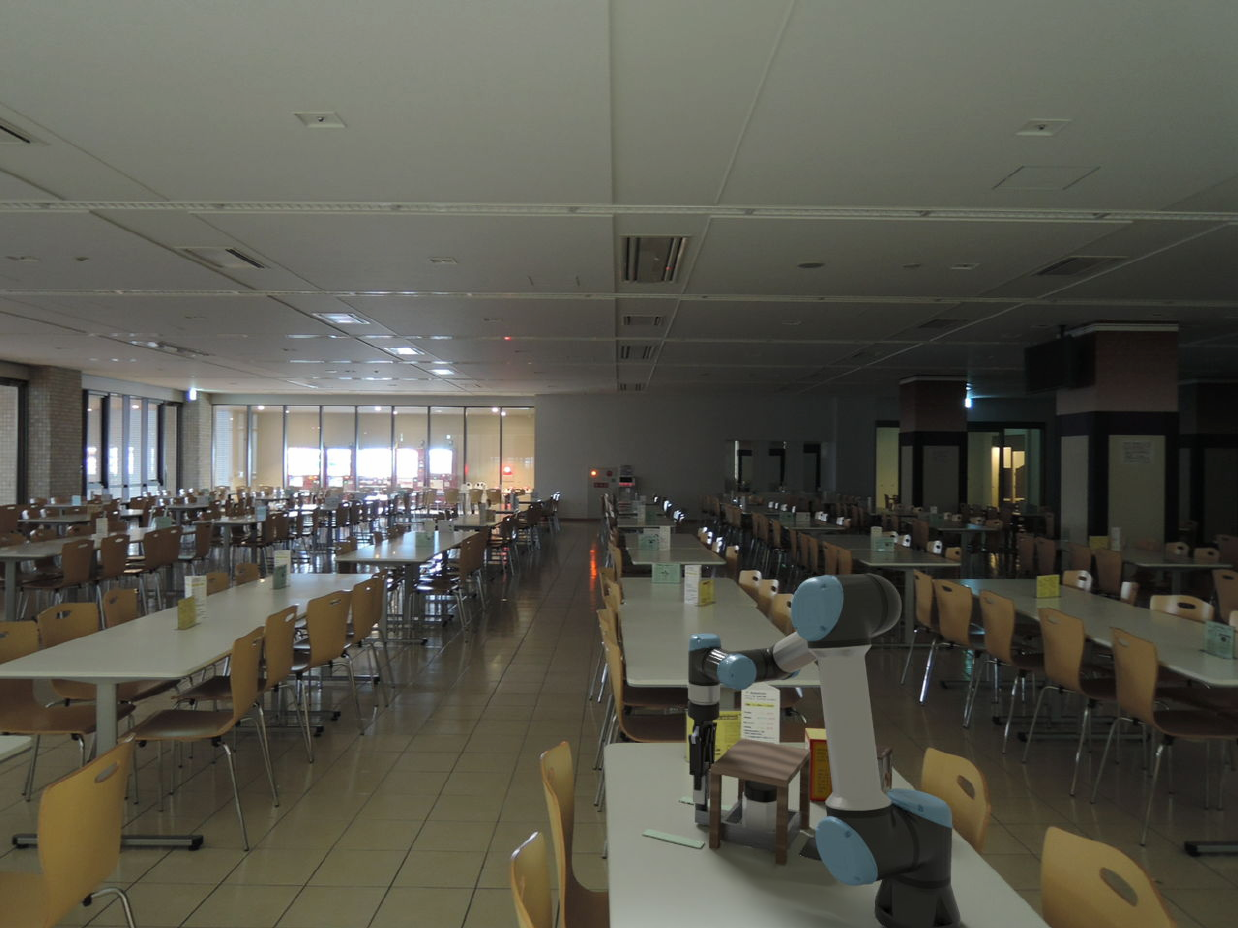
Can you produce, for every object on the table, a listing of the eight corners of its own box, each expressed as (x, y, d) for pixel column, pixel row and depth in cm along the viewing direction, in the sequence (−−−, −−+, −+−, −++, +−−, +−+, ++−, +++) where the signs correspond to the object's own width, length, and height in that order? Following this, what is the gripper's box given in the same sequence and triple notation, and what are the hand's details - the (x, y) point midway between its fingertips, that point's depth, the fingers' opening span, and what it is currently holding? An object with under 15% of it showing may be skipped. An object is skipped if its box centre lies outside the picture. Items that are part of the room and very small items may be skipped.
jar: (758, 848, 182) (759, 794, 183) (734, 834, 189) (735, 782, 189) (788, 839, 187) (789, 786, 187) (762, 825, 194) (763, 774, 194)
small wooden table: (784, 865, 175) (786, 780, 175) (708, 847, 182) (710, 765, 182) (809, 826, 194) (810, 749, 195) (740, 811, 202) (741, 738, 202)
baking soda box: (803, 786, 219) (805, 726, 220) (828, 787, 219) (830, 727, 219) (808, 800, 210) (810, 737, 210) (834, 802, 209) (836, 738, 209)
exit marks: (700, 848, 182) (700, 847, 182) (642, 835, 188) (642, 833, 188) (736, 808, 204) (736, 807, 204) (683, 797, 210) (683, 796, 210)
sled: (784, 854, 178) (785, 789, 178) (683, 831, 189) (684, 770, 189) (801, 828, 192) (802, 768, 192) (706, 808, 202) (707, 750, 202)
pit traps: (862, 870, 173) (862, 868, 173) (798, 855, 179) (798, 854, 179) (870, 850, 182) (870, 849, 182) (809, 837, 188) (809, 836, 188)
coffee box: (865, 806, 207) (867, 742, 207) (892, 812, 204) (893, 747, 204) (855, 819, 199) (857, 752, 199) (882, 825, 196) (884, 757, 196)
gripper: (700, 690, 204) (698, 785, 204) (675, 706, 190) (673, 808, 189) (729, 694, 201) (727, 791, 200) (706, 711, 186) (704, 815, 186)
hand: (701, 799), depth 195 cm, fingers closed on sled, 3 cm apart
